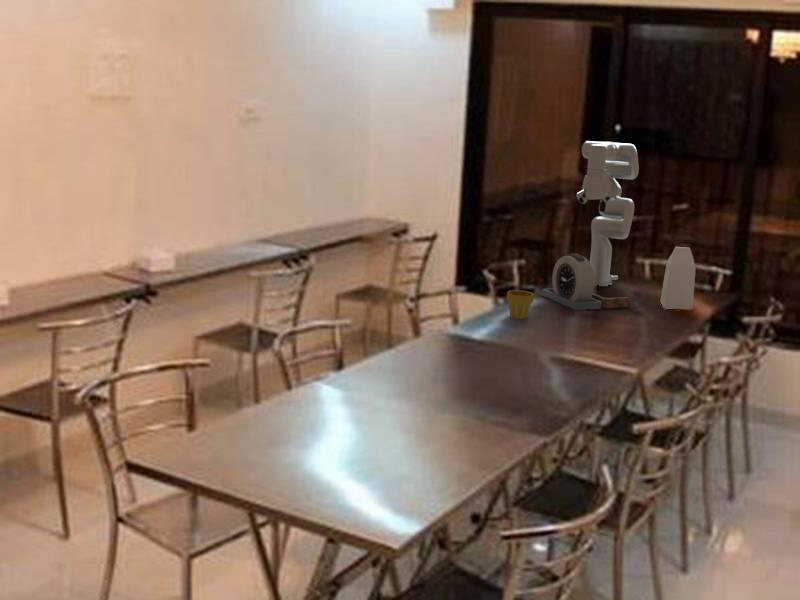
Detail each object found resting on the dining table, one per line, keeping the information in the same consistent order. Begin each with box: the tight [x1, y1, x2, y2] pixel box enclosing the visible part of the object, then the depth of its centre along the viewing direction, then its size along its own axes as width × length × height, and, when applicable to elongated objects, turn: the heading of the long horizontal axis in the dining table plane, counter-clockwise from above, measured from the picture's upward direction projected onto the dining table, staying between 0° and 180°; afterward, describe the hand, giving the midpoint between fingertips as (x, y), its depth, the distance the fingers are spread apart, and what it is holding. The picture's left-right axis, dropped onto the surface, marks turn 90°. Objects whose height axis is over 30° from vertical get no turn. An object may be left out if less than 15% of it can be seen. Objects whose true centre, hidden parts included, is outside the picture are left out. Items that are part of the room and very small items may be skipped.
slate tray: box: [541, 288, 602, 311], centre depth 455 cm, size 13×27×3 cm, turn 23°
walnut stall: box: [591, 285, 629, 309], centre depth 461 cm, size 12×25×4 cm, turn 23°
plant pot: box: [506, 289, 534, 320], centre depth 424 cm, size 10×10×10 cm
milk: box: [659, 246, 696, 310], centre depth 454 cm, size 12×12×26 cm
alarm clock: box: [551, 253, 595, 303], centre depth 453 cm, size 21×8×20 cm, turn 24°
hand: (592, 212), depth 464 cm, fingers open, 9 cm apart
